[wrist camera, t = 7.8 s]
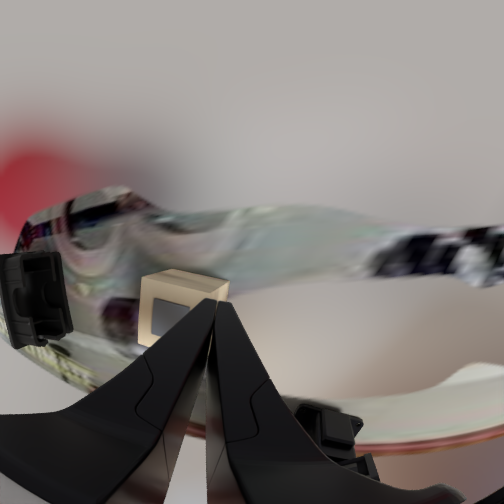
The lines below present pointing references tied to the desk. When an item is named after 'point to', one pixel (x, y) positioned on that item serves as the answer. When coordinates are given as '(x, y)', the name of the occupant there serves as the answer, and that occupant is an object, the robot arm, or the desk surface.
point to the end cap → (34, 298)
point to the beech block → (173, 300)
